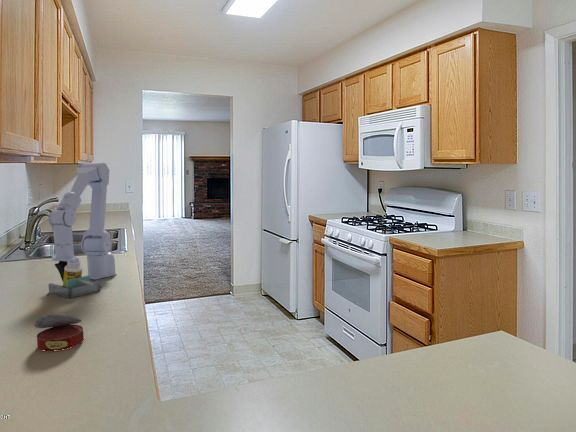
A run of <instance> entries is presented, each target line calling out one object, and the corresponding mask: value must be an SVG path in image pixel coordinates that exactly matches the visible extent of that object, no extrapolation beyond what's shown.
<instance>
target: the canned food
mask: <svg viewBox="0 0 576 432" xmlns="http://www.w3.org/2000/svg"><path fill="white" fill-rule="evenodd" d="M81 322H82V319H79V318H78V317H74V316H71V315H70V316H68V315H62V314H47V315H46V316H41V317H39V318H37V320H36V322H35V323H34V327H35V328H37V329H43V330H41V331H39V332H38V333H37V334H36V343H37V349H38V350H39V349H40V350H45V351H54V350H62V349H67V348H70V347H73V346H76V345H78V344H80V343H81V342H82V341H83V340H84V341H85V339H84V328H83V326H82V325H79V324H78V323H81ZM84 341H83V342H84ZM83 342H82V343H83ZM82 343H81V344H82ZM81 344H80V345H81ZM78 346H79V345H78ZM76 347H77V346H76ZM73 348H74V347H73ZM70 349H71V348H70ZM40 350H39V351H40ZM67 350H68V349H67ZM62 351H63V350H62Z"/></svg>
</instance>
